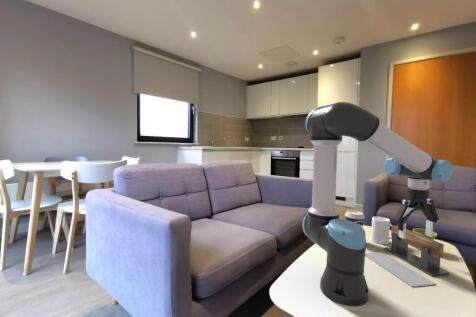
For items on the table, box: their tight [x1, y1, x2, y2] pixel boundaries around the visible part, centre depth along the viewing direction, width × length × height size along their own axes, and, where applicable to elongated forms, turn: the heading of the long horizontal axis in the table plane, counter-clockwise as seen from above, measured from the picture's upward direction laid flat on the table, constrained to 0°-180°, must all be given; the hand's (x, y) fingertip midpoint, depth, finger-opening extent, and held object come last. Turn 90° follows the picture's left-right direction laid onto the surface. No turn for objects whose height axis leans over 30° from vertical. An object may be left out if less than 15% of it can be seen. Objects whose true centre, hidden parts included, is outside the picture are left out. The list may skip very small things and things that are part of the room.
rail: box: [390, 225, 445, 258], centre depth 105 cm, size 3×22×5 cm, turn 10°
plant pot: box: [412, 228, 438, 241], centre depth 117 cm, size 9×9×9 cm
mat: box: [365, 251, 437, 288], centre depth 99 cm, size 10×26×1 cm, turn 10°
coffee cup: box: [344, 209, 366, 228], centre depth 126 cm, size 10×10×15 cm
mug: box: [370, 216, 394, 245], centre depth 125 cm, size 12×8×12 cm
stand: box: [383, 233, 450, 278], centre depth 105 cm, size 8×24×9 cm, turn 10°
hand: (415, 236), depth 105 cm, fingers open, 13 cm apart
